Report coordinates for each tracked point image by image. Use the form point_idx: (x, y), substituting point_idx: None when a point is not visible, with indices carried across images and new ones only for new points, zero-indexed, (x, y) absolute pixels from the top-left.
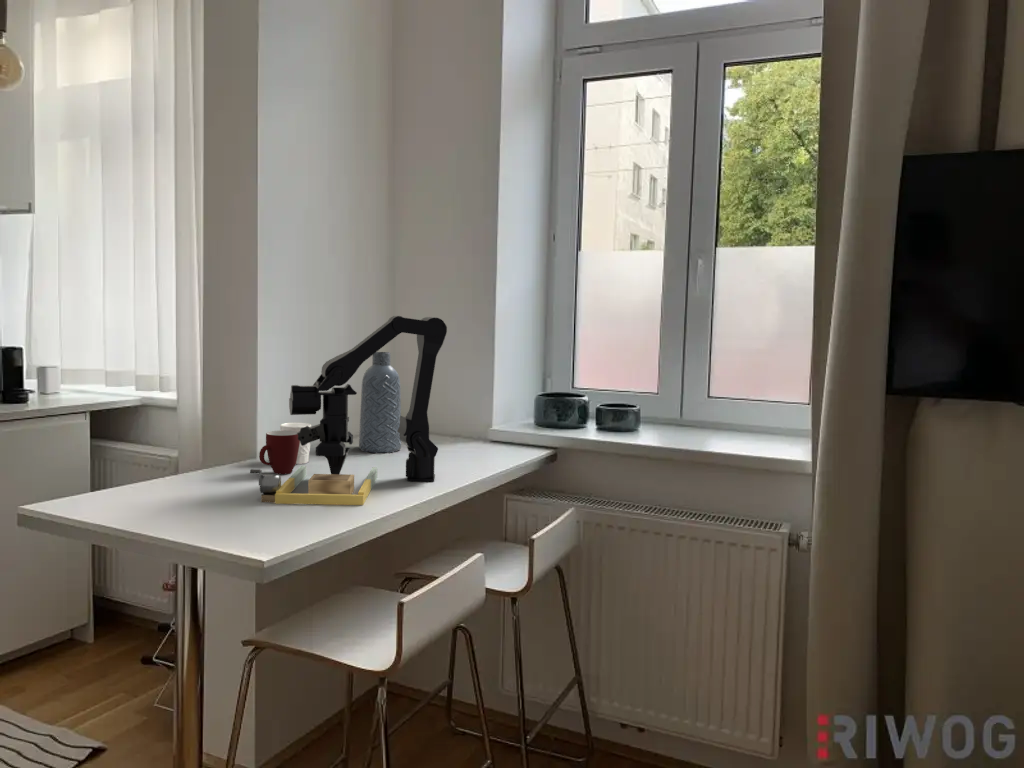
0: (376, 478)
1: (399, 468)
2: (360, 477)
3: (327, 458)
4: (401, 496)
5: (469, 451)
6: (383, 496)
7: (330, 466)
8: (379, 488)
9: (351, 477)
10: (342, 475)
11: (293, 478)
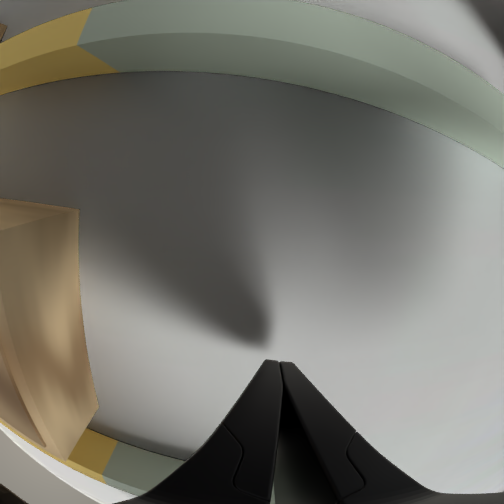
0: None
1: (450, 480)
2: (392, 442)
3: (134, 501)
4: (73, 470)
5: None
6: None
7: (216, 435)
8: None
9: (11, 426)
10: (8, 407)
11: (62, 45)
